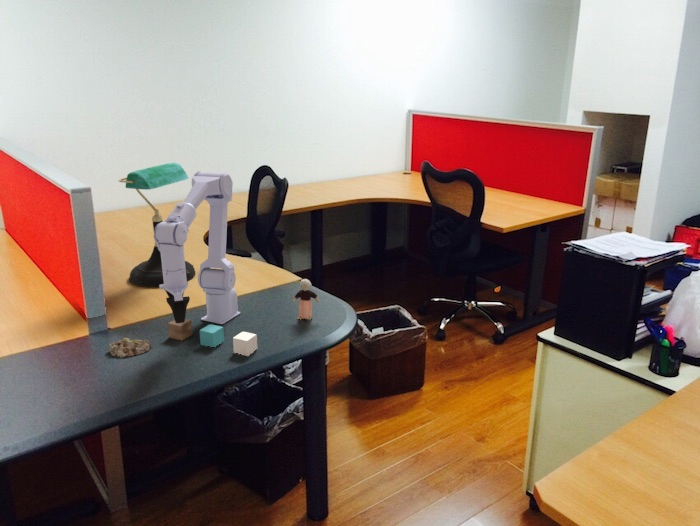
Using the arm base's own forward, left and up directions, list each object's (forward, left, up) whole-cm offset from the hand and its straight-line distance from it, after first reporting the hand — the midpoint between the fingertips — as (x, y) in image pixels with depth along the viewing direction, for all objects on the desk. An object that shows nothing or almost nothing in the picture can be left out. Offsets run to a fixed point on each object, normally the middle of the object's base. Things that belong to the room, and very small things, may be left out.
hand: (178, 316), depth 155 cm
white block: (-7, +16, -10) cm, 20 cm away
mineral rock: (+6, -12, -10) cm, 17 cm away
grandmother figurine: (-33, +20, -10) cm, 40 cm away
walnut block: (-7, -6, -10) cm, 13 cm away
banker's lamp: (-44, -46, -10) cm, 64 cm away
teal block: (-7, +5, -10) cm, 13 cm away
